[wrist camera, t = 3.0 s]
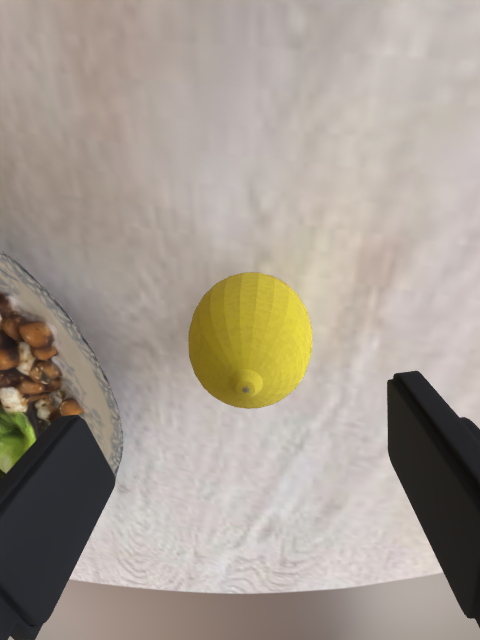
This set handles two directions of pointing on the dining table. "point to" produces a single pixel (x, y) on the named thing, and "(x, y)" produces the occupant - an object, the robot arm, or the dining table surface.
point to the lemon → (250, 340)
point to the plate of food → (47, 371)
